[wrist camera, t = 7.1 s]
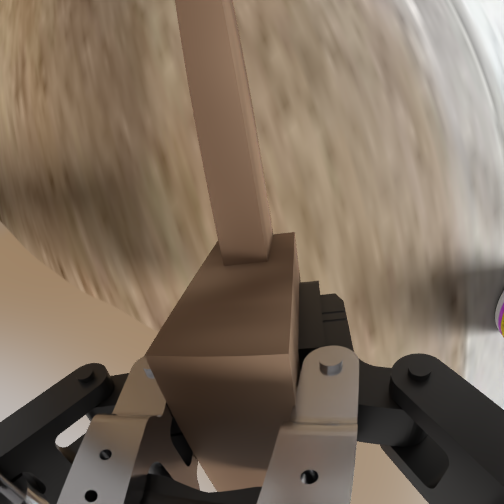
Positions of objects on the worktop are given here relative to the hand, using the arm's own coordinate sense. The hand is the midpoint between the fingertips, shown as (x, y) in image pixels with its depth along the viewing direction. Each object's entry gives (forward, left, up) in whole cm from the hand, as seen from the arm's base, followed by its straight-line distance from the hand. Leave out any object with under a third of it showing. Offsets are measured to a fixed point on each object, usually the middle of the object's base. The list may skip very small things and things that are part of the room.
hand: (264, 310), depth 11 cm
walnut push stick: (0, -9, -1) cm, 9 cm away
